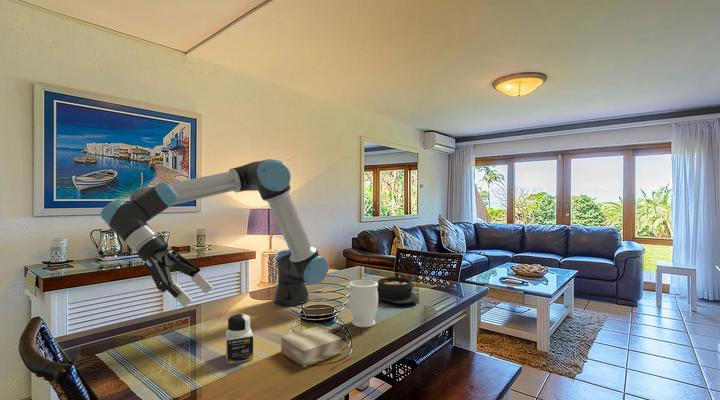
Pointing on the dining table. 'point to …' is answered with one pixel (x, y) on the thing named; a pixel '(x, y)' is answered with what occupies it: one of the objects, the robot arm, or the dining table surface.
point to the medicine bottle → (239, 339)
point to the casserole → (396, 290)
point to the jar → (363, 302)
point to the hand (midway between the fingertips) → (199, 296)
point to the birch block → (311, 345)
